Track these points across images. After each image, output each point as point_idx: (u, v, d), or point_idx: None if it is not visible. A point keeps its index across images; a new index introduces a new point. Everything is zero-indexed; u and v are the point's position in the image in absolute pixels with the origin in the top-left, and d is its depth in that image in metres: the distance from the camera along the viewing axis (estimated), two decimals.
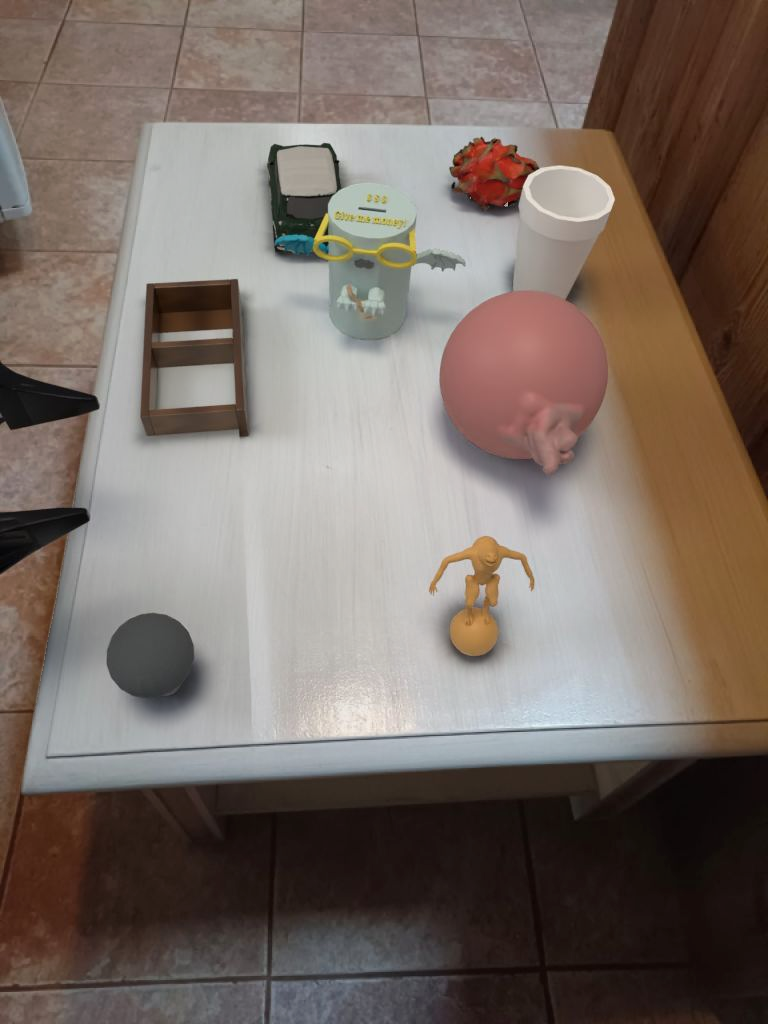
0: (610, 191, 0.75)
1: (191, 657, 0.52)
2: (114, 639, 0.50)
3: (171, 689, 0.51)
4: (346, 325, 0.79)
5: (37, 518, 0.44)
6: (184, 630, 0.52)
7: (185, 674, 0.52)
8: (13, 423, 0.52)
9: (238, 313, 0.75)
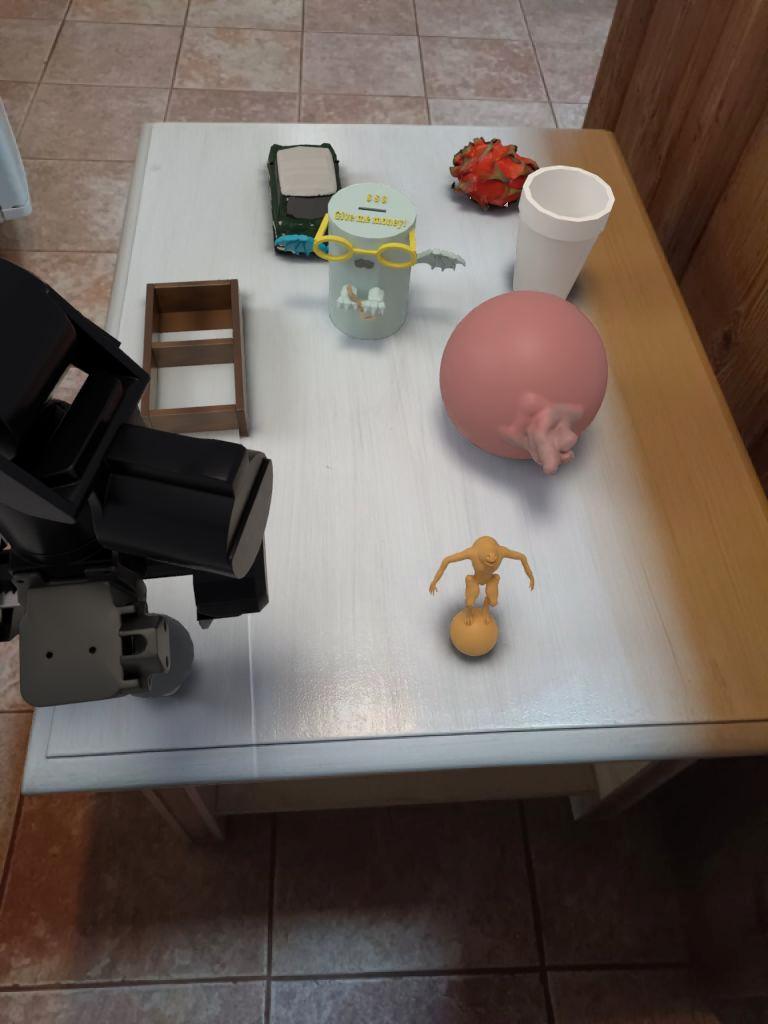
0: (610, 191, 0.75)
1: (191, 657, 0.52)
2: None
3: (171, 689, 0.51)
4: (346, 325, 0.79)
5: None
6: (184, 630, 0.52)
7: (185, 674, 0.52)
8: None
9: (238, 313, 0.75)
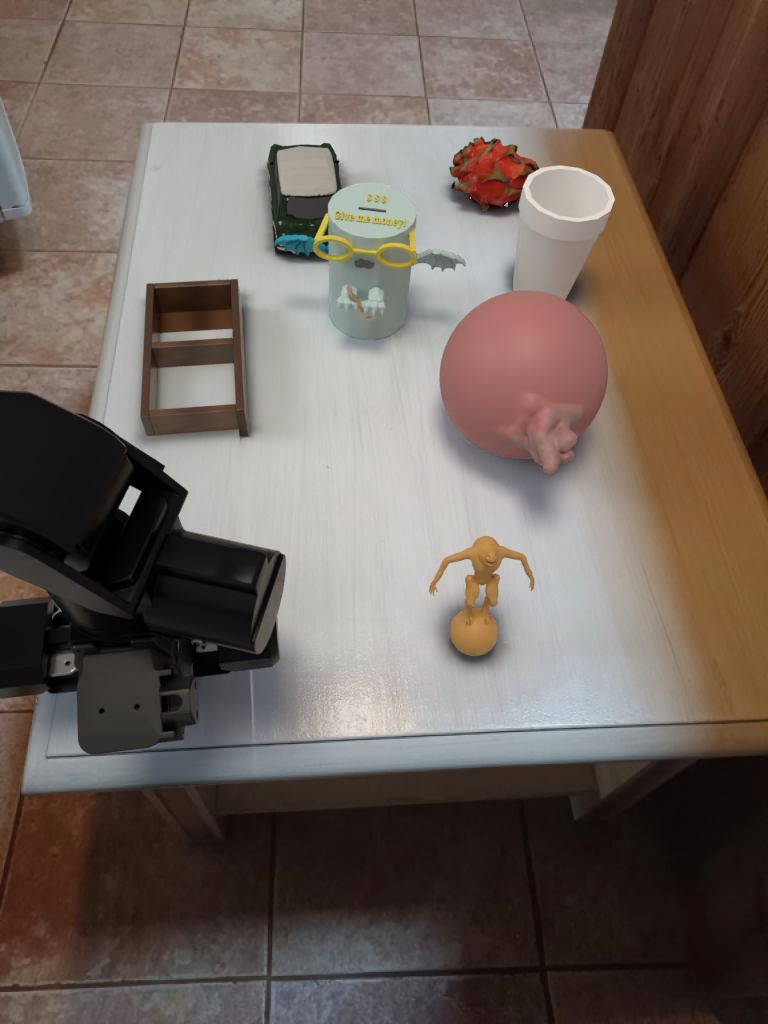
0: (610, 191, 0.75)
1: (191, 657, 0.52)
2: None
3: None
4: (346, 325, 0.79)
5: None
6: None
7: (185, 674, 0.52)
8: None
9: (238, 313, 0.75)
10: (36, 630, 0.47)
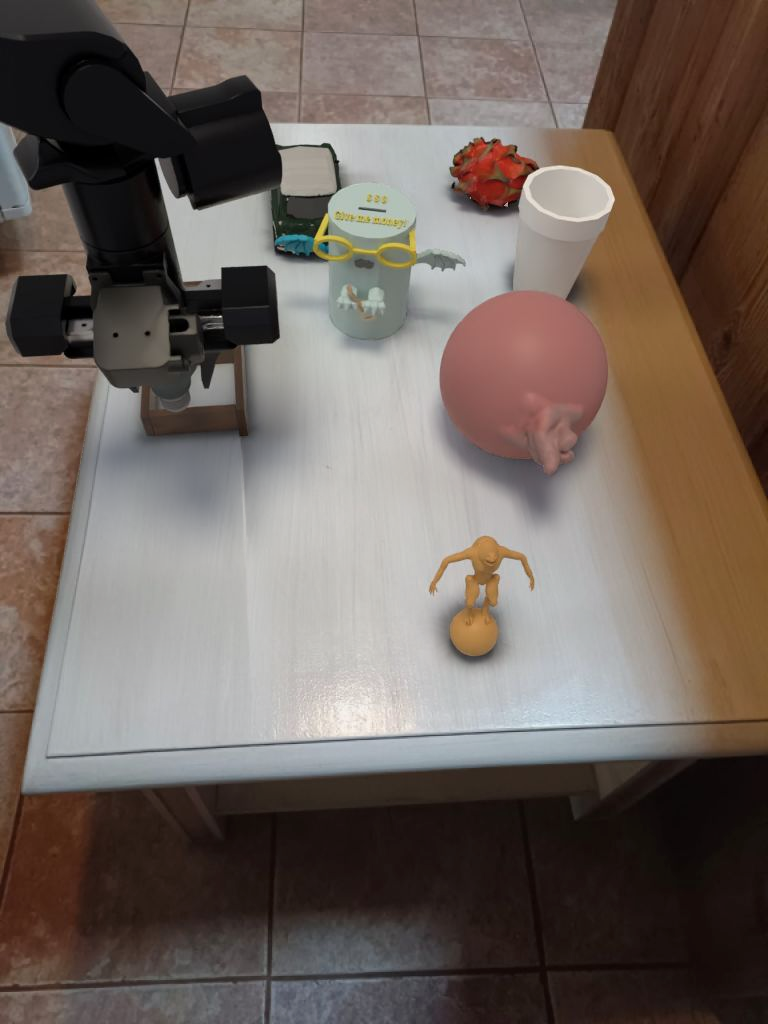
0: (610, 191, 0.75)
1: None
2: None
3: (179, 375, 0.55)
4: (346, 325, 0.79)
5: None
6: None
7: (192, 364, 0.56)
8: None
9: None
10: (56, 292, 0.51)
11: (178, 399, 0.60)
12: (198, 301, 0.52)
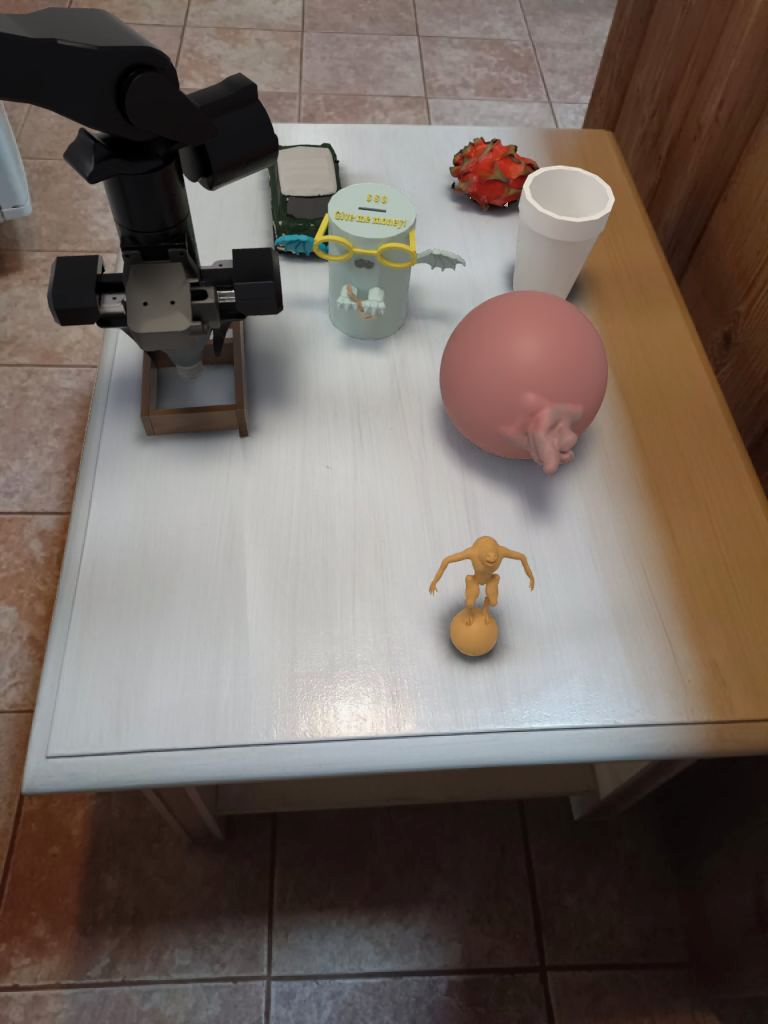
0: (610, 191, 0.75)
1: None
2: None
3: None
4: (346, 325, 0.79)
5: None
6: None
7: None
8: None
9: None
10: (90, 270, 0.59)
11: (192, 367, 0.68)
12: (212, 278, 0.60)
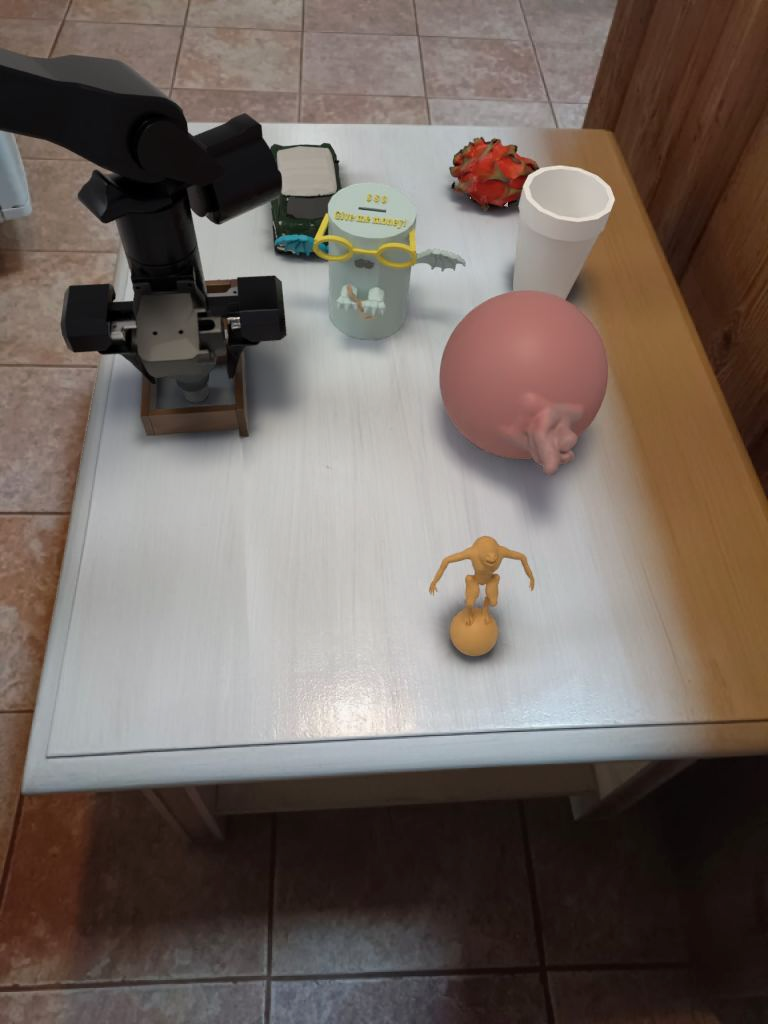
0: (610, 191, 0.75)
1: None
2: None
3: None
4: (346, 325, 0.79)
5: (141, 370, 0.67)
6: None
7: None
8: None
9: None
10: (101, 299, 0.62)
11: (198, 391, 0.71)
12: (218, 305, 0.63)
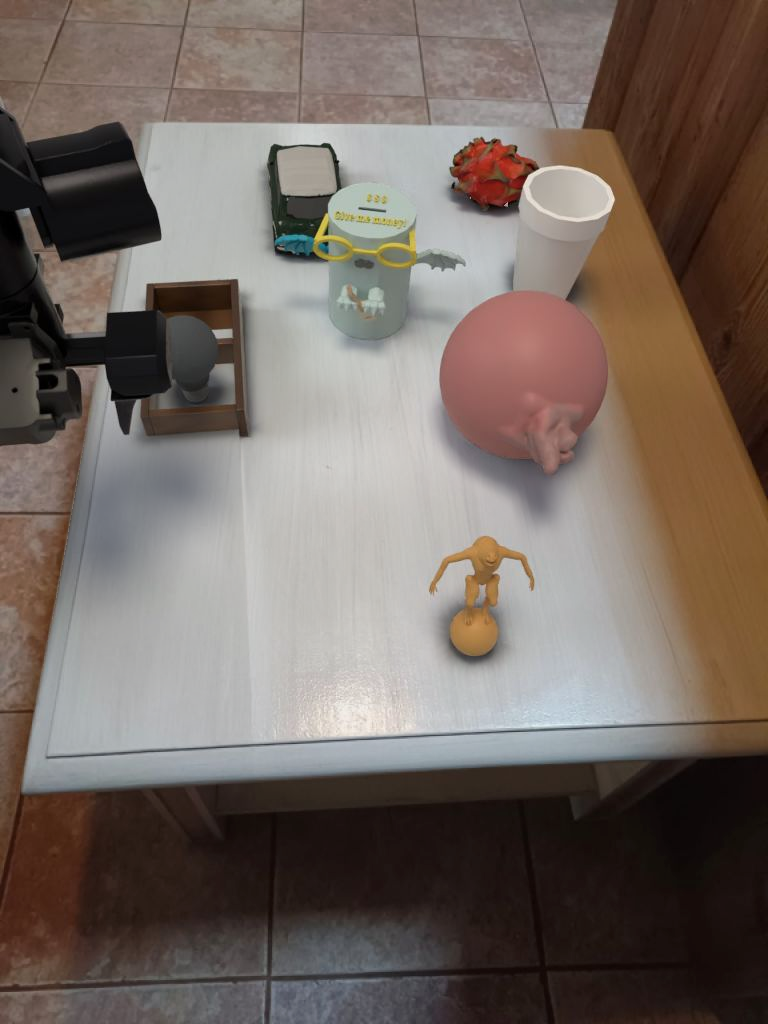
0: (610, 191, 0.75)
1: (216, 349, 0.67)
2: None
3: (201, 371, 0.66)
4: (346, 325, 0.79)
5: None
6: None
7: (212, 361, 0.67)
8: None
9: (238, 313, 0.75)
10: None
11: (198, 391, 0.71)
12: (81, 350, 0.49)
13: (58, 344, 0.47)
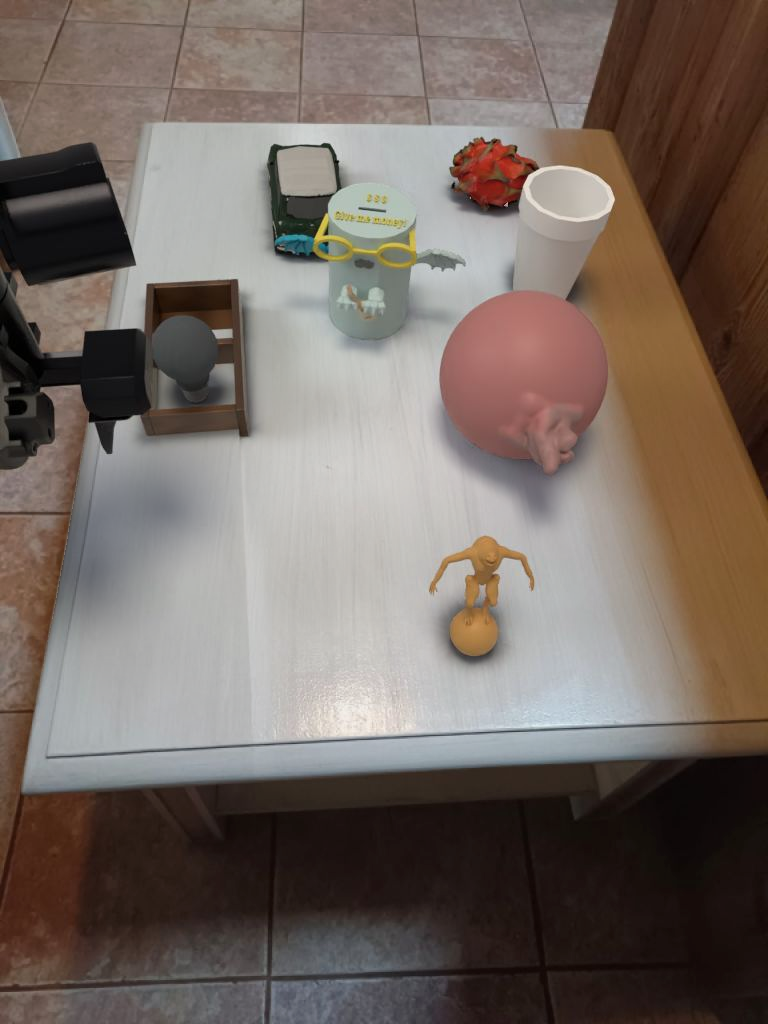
0: (610, 191, 0.75)
1: (216, 349, 0.67)
2: (158, 328, 0.65)
3: (201, 371, 0.66)
4: (346, 325, 0.79)
5: None
6: None
7: (212, 361, 0.67)
8: None
9: (238, 313, 0.75)
10: None
11: (198, 391, 0.71)
12: (57, 370, 0.47)
13: (32, 365, 0.46)
